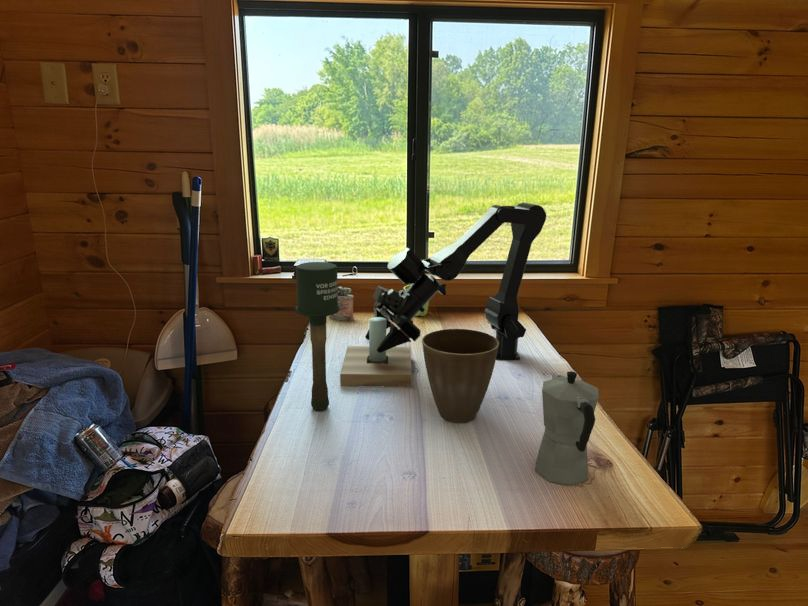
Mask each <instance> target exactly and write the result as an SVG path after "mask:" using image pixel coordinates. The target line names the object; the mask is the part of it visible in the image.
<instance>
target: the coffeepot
mask: <svg viewBox="0 0 808 606" xmlns="http://www.w3.org/2000/svg"><path fill="white" fill-rule="evenodd" d="M577 376H578V372H576V371H572V370H571V371H567V372H566V376H565V375H559V374H558V375H556V376H555V375H551V379H547V380H543V382H542V383H543V384H542V388H541V394H542V395H541V397H542V410H543V411H542V414H543V415H542V416H543V425H544V431H543V436H542V439H541V442H540V444H539V445H540V446H539V449H538V453H537V457H536V460H535V468H534V471H535V472H536V473H538V475H539V476H540V477H541V478H543V479H544V480H546V481H549V482H550V483H553V484H557V485H563V486H574V485H575V486H577V485H580V484H583V483H584V482H586V481H587V480H589V463H588V462H589V461H588V446H587V445H588V443H589V440H590V438H591V434H592V432H593V429H594V426H595V424H596V415H595V410H596V408H597V405H598V402H599V398H600V397H599V388H598V387H596V386H594V385H591V384H590V383H588V382H586V381H583V380H580V379H576V378H577Z"/></svg>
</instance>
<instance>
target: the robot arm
mask: <svg viewBox="0 0 808 606" xmlns="http://www.w3.org/2000/svg"><path fill="white" fill-rule="evenodd" d="M546 221H547V212H546V210H545V209H544V208H543V206H541V205H538V204H533V203H528V202H520V203H519V204H517V205H499V204H493V205H492V206H490V207H489V208H488V211H486V213H484V214H483V215H482V216H481V217H480V218H479V219H478V220H477V221H475V223H474V224H473V225H472V226H471V227H469V228H468V230H467V231H465V233H463V234H462V235H461V236H460V237H459V238H458V239H457V240H456V241H455V242H454V243H452V244H450V245H448V246H444V247H443V248H442V249H440V250H439V251H437V252H436V253H434V254H433V255H431V257H427V258H423V259H420V258H419V257H418V256H417V255H416V253H415V252H414V251H413V250H412V249H411V248H409V247H406V248H405V249H404V250H401V251H400V252H398V253H397V254H394V255H393V256H392V257H391V258H390V259H389V261H388V263H387V269H389V271H390V272H391V273H392V274H393V275H394V276H395V277H397V279H398V280H399V281H400V282H401V283H402V284H403V285H410V286H409V288H408V289H407V290H406V291H405V290H404V289H400V290H399V291H397V290H395V289H393V288H391V289H388V288H385V287H382V286H380V285H377V287H376V288H375V291H374V293H373V295H372V299H375V302H374V303H373V306H375V307H373V311H374V317H382V318H385V319H386V330H387V329H389V331H388V332H387V333H386V337H385V338H384V340H383V341H382V342H381V344H380V345H379V347H378V348H377V351H378V352H379V353H381V352H383V351H386V350H388V349H391V348H393V347H399V346H400V345H403V344H406V343H411V342H412V341H413V342H416V341H417V340H418V339H419V338H420V337H421V329H420V328H418V327H417V325H415V324H414V321H412V320H413V318H415V317H416V316H415V315H416V314H417V313H418V312H419V311H421V312H422V313H423V312H424V310H425V309H424V308H423V307H424V306H425V304H426V303H427V302H428V301H429V302H430V301H431V299H432V298H433V297H434V296H435V295H436V294H437V293H439V294H440V295H442V296H447V289H446V286H447V284H446V283H445V281H446V282H447V281H454V280H455V279H456V278H457V277H458V275H460V273H461V272H462V271H463V269H464V268H465V265H466V264H467V261H468V259H469V257H470V256H471V255H472V254H473V253H474V252H475V251H476V250H477V249H479V247H480V246H481V245H483V243H484V242H485V241H487V239H489V238H490V237H491V236H492V234H494V233H495V232H496V231H497V230H498V229H499V228H500V227H501V226H502V225H503V224H504V223H506V224H510V228H511V233H512V239H511V240H512V241H511V244H510V247H509V251H508V254H507V258H506V263H505V266H504V270H503V272H502V278H501V280H500V285H499V288H498V291H497V293H496V294H495V296H492V297H491V296H488V298H487V303H486V306H485V309H484V310H483V311H484V313H485V319H486V321H487V322H488V323H489V324H490V327H491V329H492V330H494V331H495V338H496V339H497V340H498V342H499V346H498V351H497V356H496V360H520V359H521V356H520V354H519V352H518V345H519V344H518V343H519V338H524V337H525V334H526V332H527V328H526V327H524V325H523V323H522V324H521V322H520V321H519V315H520V314H519V313H520V307H519V301H518V297H519V291H520V287H521V285H522V284H521V283H522V281H523V277H524V273H525V269H526V266H527V262H528V258H529V255H530V251H531V248H532V247H531V246H532V244H533V242H534V241H535V240H536V238H537V237H538V236H539V235H540V234H541V232H542V231H543V228H544V225H545V223H546ZM425 272H427V273H428V274H431V275H428V274H426V273H425ZM435 276H436V277H437V278H439V279H441V280H443V281H444V282H442V281H440V282H439V280H437V278H436V277H435ZM364 337H365V339H366V340H367V341H369V329H368V330H367V332H366V334H365V336H364Z"/></svg>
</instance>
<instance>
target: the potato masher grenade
mask: <svg viewBox="0 0 808 606" xmlns="http://www.w3.org/2000/svg"><path fill="white" fill-rule="evenodd" d="M295 271H296V272H295V273H296V297H297V298H296V303H297V305H296V306H295V313H297V314H298V315H301V316H304V317H308V318H309V332H310V333H309V335H310V336H309V337H310V343H311V359H312V361H311V362H312V363H311V365H312V385H311V399H310V406H311V408H312V410H313V411H317V412H323V411H326V410H327V409H328V408H329V405H330V398H329V387H328V385H327V367H326V366H327V365H326V364H327V362H326V360H327V359H326V357H327V356H326V355H327V353H326V352H327V351H326V343H327V317H329V315H333V314H336V313H338V312H339V311H340V307H339V305H338V287H339V285H338V283H339V282H338V266H337V265H336V264H334V263H333V262H326V261H307V262H303V263H300V264H298V265H296V267H295Z"/></svg>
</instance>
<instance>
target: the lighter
mask: <svg viewBox="0 0 808 606" xmlns="http://www.w3.org/2000/svg"><path fill="white" fill-rule="evenodd" d="M351 293H352V289H351V287H350V288H349V287H343V286H338V305H339V307H340V311H339V312H338V313H336V314H333V315H329V316H328V319H331V320H338V321H350V322H351V321H353V320H354V318H355V316H354V298H355V297H354V295H353V294H351Z"/></svg>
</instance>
